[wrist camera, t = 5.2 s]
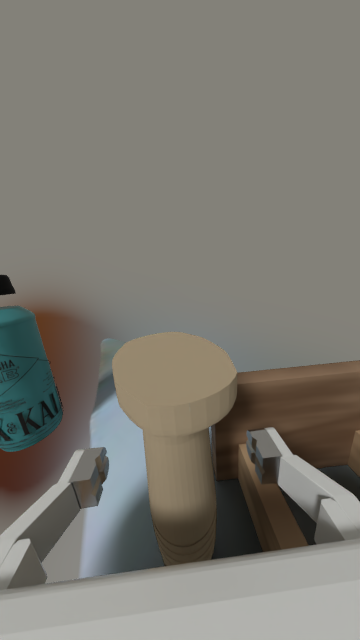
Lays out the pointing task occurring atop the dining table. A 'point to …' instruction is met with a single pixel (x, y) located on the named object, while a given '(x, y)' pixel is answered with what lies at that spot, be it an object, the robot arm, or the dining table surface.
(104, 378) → the dining table surface
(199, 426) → the handle
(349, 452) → the wooden drawer
